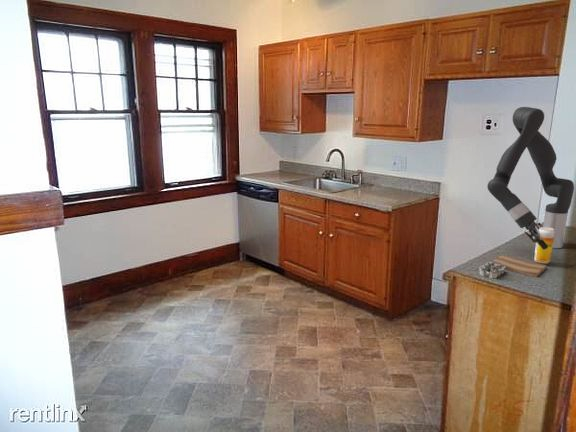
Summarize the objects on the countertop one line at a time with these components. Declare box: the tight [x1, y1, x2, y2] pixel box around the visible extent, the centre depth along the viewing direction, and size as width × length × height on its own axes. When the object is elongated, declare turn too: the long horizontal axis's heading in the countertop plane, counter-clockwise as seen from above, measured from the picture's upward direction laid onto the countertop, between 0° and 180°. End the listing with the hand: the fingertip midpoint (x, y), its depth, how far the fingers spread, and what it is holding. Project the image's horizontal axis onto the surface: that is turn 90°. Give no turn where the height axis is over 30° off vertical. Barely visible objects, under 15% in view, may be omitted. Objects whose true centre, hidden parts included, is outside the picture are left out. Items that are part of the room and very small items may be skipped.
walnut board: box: [491, 255, 547, 278], centre depth 175 cm, size 13×18×2 cm
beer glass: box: [533, 227, 555, 264], centre depth 177 cm, size 6×6×15 cm
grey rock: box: [478, 260, 505, 279], centre depth 169 cm, size 11×8×4 cm
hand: (548, 246), depth 176 cm, fingers closed on beer glass, 6 cm apart
